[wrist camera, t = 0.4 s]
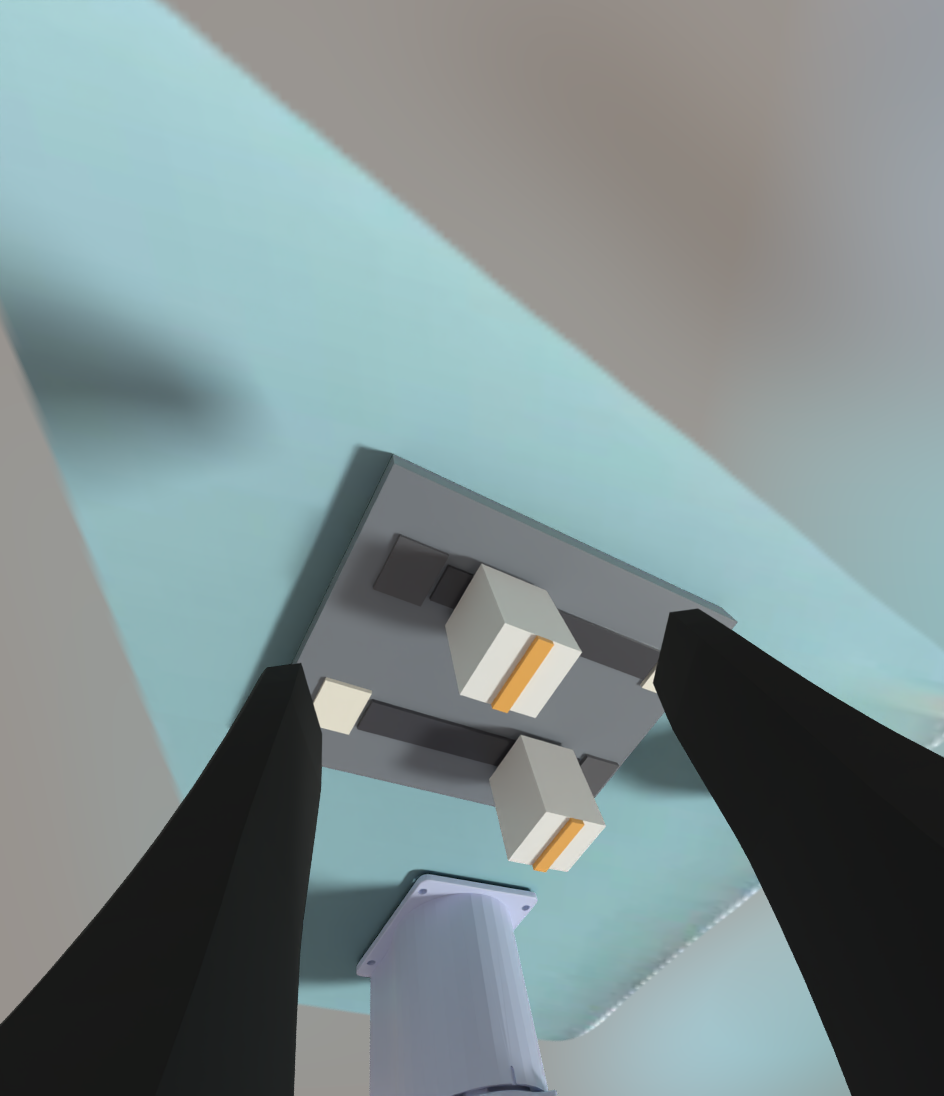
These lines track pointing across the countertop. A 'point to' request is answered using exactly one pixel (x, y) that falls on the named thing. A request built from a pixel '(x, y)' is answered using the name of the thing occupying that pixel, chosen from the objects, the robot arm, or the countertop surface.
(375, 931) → the countertop surface
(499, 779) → the toggle
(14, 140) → the countertop surface
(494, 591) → the toggle
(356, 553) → the switch unit
